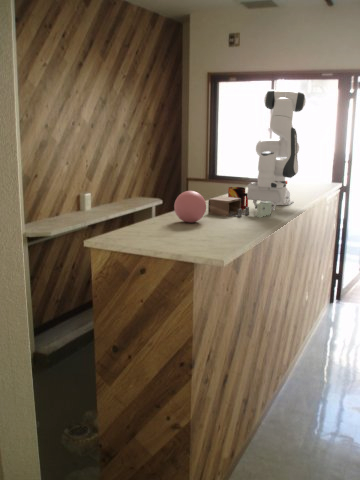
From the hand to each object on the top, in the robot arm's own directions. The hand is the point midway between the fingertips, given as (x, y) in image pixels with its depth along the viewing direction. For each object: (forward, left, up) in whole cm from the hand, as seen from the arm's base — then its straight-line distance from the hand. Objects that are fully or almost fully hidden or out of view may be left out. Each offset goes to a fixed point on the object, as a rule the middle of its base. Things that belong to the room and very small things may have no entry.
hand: (264, 209), depth 258 cm
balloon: (+38, -20, -4) cm, 43 cm away
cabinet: (+7, -17, -3) cm, 19 cm away
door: (0, 0, -3) cm, 3 cm away
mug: (-11, -21, -4) cm, 24 cm away
